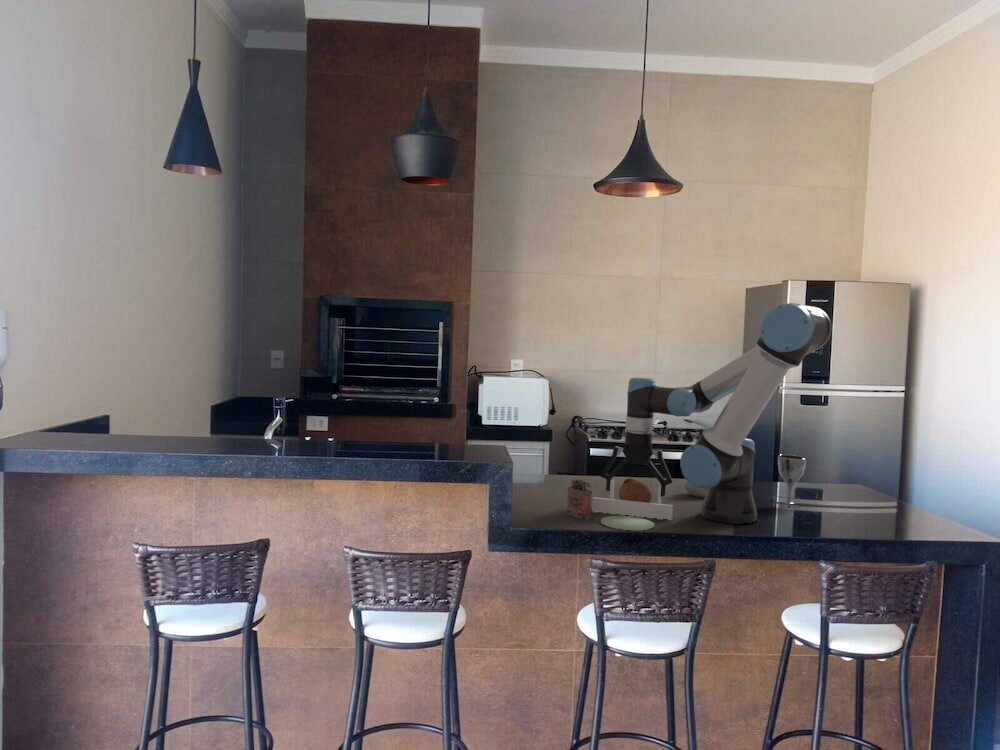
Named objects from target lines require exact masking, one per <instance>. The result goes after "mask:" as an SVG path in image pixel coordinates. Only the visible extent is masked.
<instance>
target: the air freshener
mask: <svg viewBox="0 0 1000 750" xmlns="http://www.w3.org/2000/svg"><path fill="white" fill-rule="evenodd" d="M708 489H709V488H697V487H695V486H693V485H691V484H690V483H689V482H688V481H687V480H685V482H684V490H685V491H686V492H687V493H688V494H689V495H691V496H693V497H696V498H700V497H701V499H702V498H703V499H705V497H706V494H707V492H708Z"/></svg>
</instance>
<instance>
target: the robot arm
mask: <svg viewBox="0 0 1000 750" xmlns="http://www.w3.org/2000/svg"><path fill="white" fill-rule="evenodd" d="M832 329H833V326H832V321H831V319H830V317H829V315H828V314H827V313H826V312H825V311H824V310H822V308H819V307H816V306H812V305H805V304H804V305H803V304H799V303H795V302H793V303H792V302H791V303H790V302H789V303H785V304H779V305H777V306H775V307H773V308H771V309H770V310H769V311H768V312H767V313H766V314H765V315H764V316H763V319H762V321H761V323H760V336H759V337H758V340H757V341H756V346H754V347H753V348H751V349H750V350H749V351H746V352H745V353H744V354H742V355H740V356H739V357H737V358H734V360H732V361H730V362H728V363H727V364H725V365H724V366H721V367H720V368H719V369H717V370H714V372H712V373H710V374H708V375H706V376H705V377H704V378H702V379H701V380H699V381H697V382H696V383H694V384H692V385H690V386H685V387H665V386H664V387H663V386H657V385H656V380H655V379H654V378H649V377H632V378H629V381H628V386H627V392H626V394H627V404H626V405H627V408H626V417H625V418H626V419H625V420H626V421H625V430H627V431H626V432H625V439H624V447H620V446H618V445H615V446H614V447H613V450H612V455H611V456H610V459H608V461H607V463H606V465H605V466H604V468H603V471H602V472H601V473H600V478H602V479H605V481H606V487H605V489H606V491H607V492H609V498H608V499H614V494H615V493H614V490H615V489H614V488H615V479H614V477H615V476H616V475H617V474H618V473H619V472H620V471H621V469H623V468H624V467H625V466H626V465H627V464H628V463H630V464H631V465H640V466H641V465H644V464H645V465H646V467H647V468H649V470H650V471H651V473H652V474H653V475H654V477H655V478H656V480H657V481H658V487H657V502H656V503H657V504H662V497H663V498H664V497H665V495H666V488H667V486H669V485H671V484H672V483H673V478H672V475H671V473H670V470H669V469H668V466H667V464H666V462H665V460H664V457H663V456H664V455H663V450H662V449H658V450H653V448H652V443H653V442H652V441H653V434H652V432H653V426H654V414H662V415H669V416H674V417H689V416H691V415H692V414H695V413H696V414H698V413H699V414H700V413H704V412H705V411H708V410H710V409H711V408H712V406H713V405H714V404H715V403H716V402H719V401H721V400H722V399H724V398H725V397H727V396H729V395H730V394H731V396H730V397H729V399H728V401H727V403H726V404H725V406H723V409H722V410H721V412H720V414H719V415H718V418H717V419H716V420H715V422H714V424H713V425H712V427H710V428H706V429H705V428H704V429H703V431H702V432H701V434H700V436H699V437H698V439H697V440H696V442H695V443H694V444H692V445H689V446H688V447H686V448H685V450H683V452H682V453H681V456H680V461H679V464H680V465H679V466H680V470H681V473H682V476H683V477H684V479H685V481H688V482H689V483H690V484H691V485H693V486H695V487H697V488H709V489H708V492H707V494H706V497H705V498H703V502H702V505H701V508H700V509H701V510H700V516H701V517H702V518H705V519H707V520H710V521H714V522H719V523H723V524H732V525H733V524H734V525H738V524H739V525H743V524H742V523H748V524H753V523H752V522H754V523H755V521H756V520H757V519H758V511H757V507H756V503H755V500H754V499H755V498H754V495H753V481H754V479H753V478H754V466H755V455H756V450H755V448H756V447H755V444H756V443H755V442H754V440H753V439H750V438H747V437H748V435H749V433H750V432H751V430H752V428H753V427H754V425H755V424H756V422H757V420H758V419H759V417H760V416H761V414H762V412H763V411H764V410H765V408H766V407H767V404H768V403H769V402H770V400H771V398H772V397H773V395H774V393H775V392H776V391H777V389H778V387H779V386H780V384H781V383H782V381H783V379H784V378H785V376H786V375H787V373H788V371H790V369H793V368H797V367H799V366H800V364H801V363H802V361H803V360H804V358H805V356H808V355H809V354H812V353H813V352H816V351H818V350H819V349H821V348H823V346H825V345H826V344H827V343H828V341H829V340H830V338H831V335H832ZM621 453H623V455H624V456H625V458H624V459H623V460H622V461H620V463H619V464H618V465H617V466H616V467H615V468H614V469H613V470H612V471H611V472H610V474H609V470H610V469H611V467H612V465H613V464H614V461H616V458H617V457H618V456H619V455H621ZM652 456H654V457H655V459H657V461H658V463H659V466H660V468H661V470H662V472H663V475H664V477H665V479H664V477H663V475H662V474H661V473H660V472H659V470H658V469H657V468H656V466H655V465H654V464H653V462H652V461H651V460H652V459H650V458H651V457H652ZM756 522H757V521H756Z"/></svg>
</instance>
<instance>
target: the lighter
mask: <svg viewBox="0 0 1000 750" xmlns="http://www.w3.org/2000/svg"><path fill="white" fill-rule="evenodd" d="M590 486H591V485H590V482H589V481H584V480H583V479H581V478H580V479H571V486H567V489H566V490H567V505H566V506H567V507H566V510H565V511H566V513H567V514H566V515H568V514H570V515H572V516H571V517H573V516H576V517H575V518H577V517H581V518H590V519H591V502H592V500H591V498H592V497H591V496H592V490H589V489H587V488H590ZM570 515H569V516H570ZM581 518H580V519H581Z"/></svg>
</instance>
